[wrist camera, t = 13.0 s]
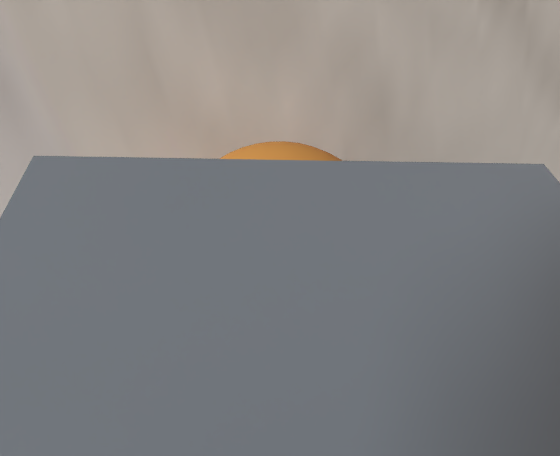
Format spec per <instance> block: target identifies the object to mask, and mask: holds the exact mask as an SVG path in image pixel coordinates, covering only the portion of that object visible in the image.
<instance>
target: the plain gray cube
mask: <svg viewBox="0 0 560 456" xmlns="http://www.w3.org/2000/svg"><path fill="white" fill-rule="evenodd" d="M0 456H560V183H559V182H558V181H557V179H556V178H555V177H554V176H553V175H552V173H551V172H550V171H549V170H548V169H547V167H546V166H545V165H544V164H504V163H442V162H380V161H318V160H256V159H194V158H132V157H70V156H33V158H32V160H31V162H30V164H29V165H28V167H27V169H26V171H25V173H24V175H23V177H22V179H21V180H20V182H19V184H18V186H17V188H16V190H15V192H14V194H13V195H12V197H11V199H10V201H9V203H8V205H7V207H6V208H5V210H4V212H3V214H2V216H1V218H0Z"/></svg>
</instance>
